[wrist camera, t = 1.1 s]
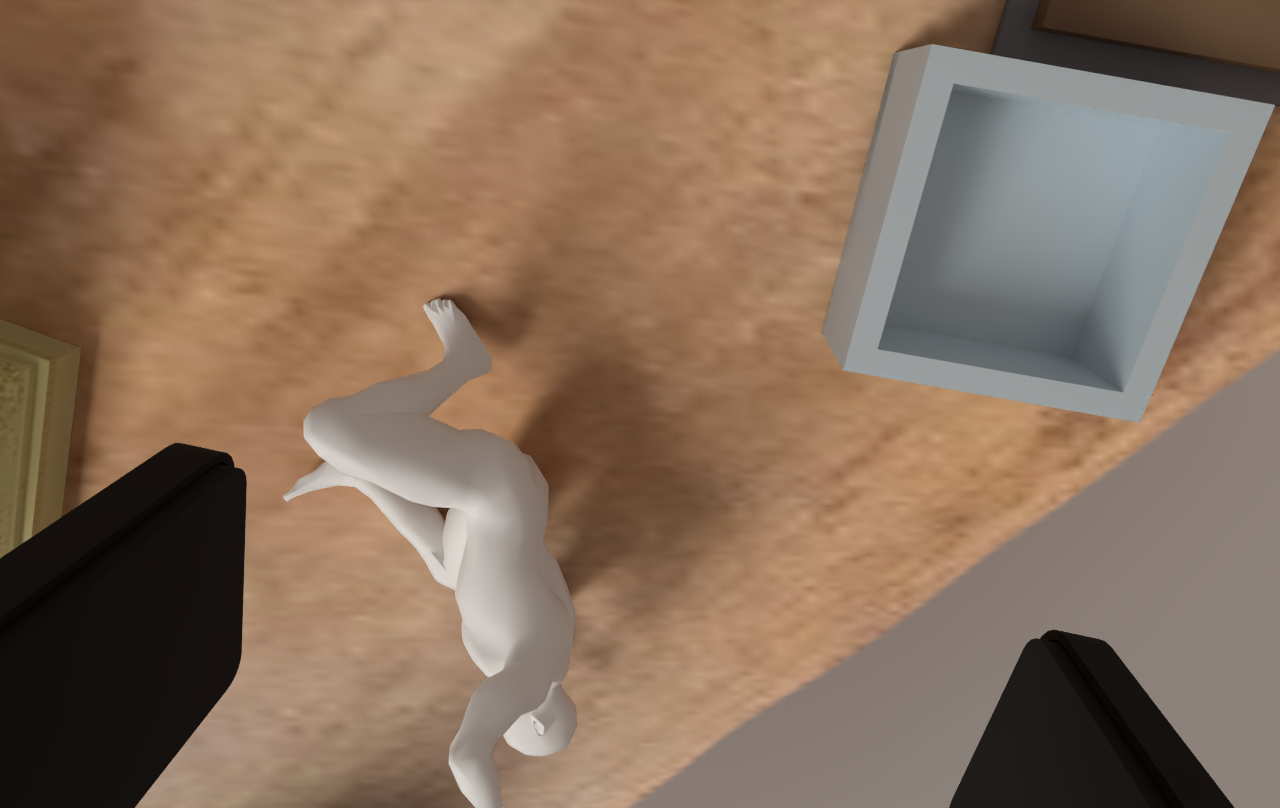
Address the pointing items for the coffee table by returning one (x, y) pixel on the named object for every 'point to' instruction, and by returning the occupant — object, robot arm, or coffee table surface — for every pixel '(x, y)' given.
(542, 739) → the person figurine
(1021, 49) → the mat
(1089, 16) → the lid
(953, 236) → the grey square box
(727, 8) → the coffee table surface
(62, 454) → the decorative clock
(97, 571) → the robot arm
